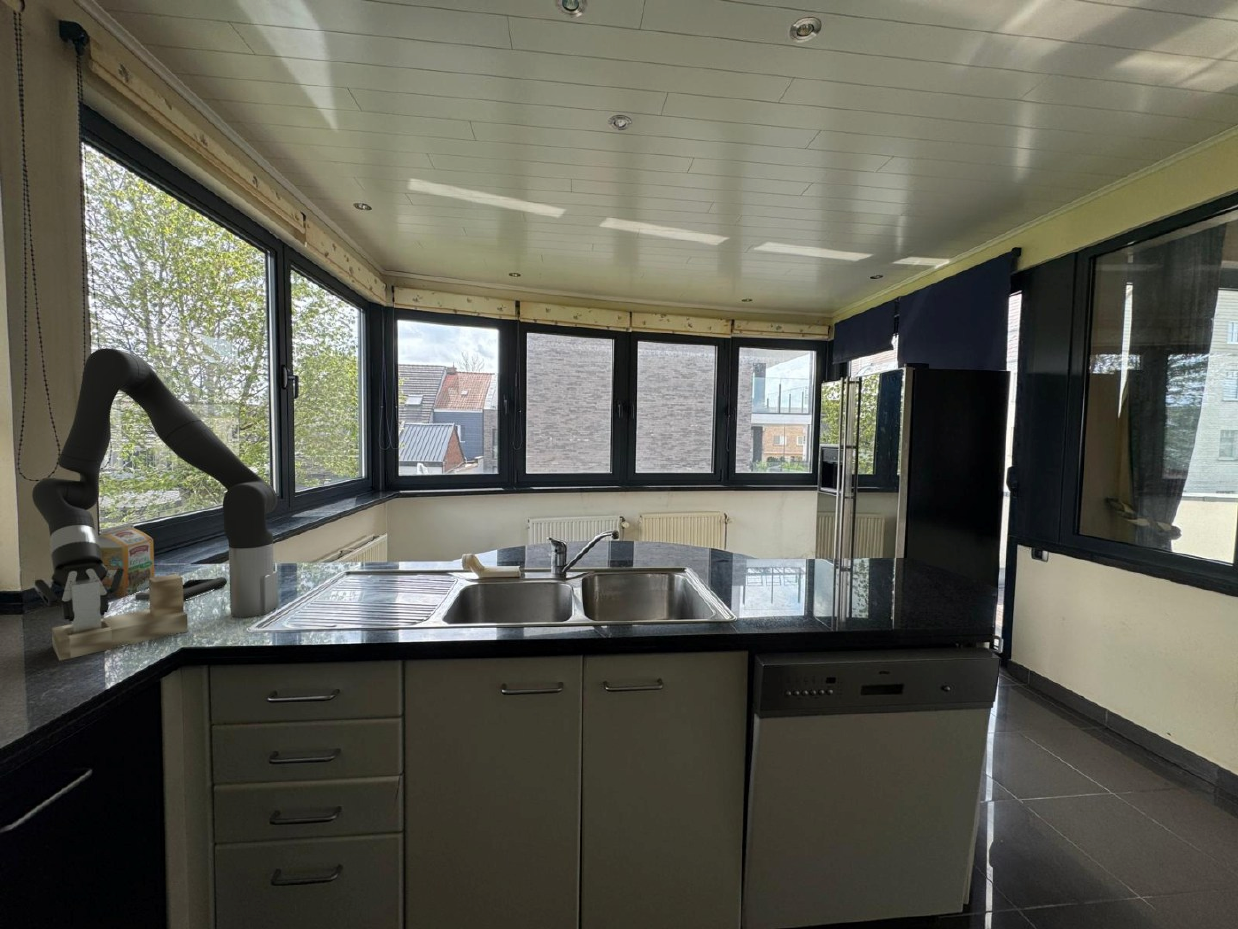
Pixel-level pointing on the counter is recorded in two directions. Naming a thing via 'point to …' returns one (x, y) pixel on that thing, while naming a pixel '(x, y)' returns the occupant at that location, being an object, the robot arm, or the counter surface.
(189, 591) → the door handle
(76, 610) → the square post
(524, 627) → the counter surface
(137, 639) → the post base
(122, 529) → the milk carton
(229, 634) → the counter surface
